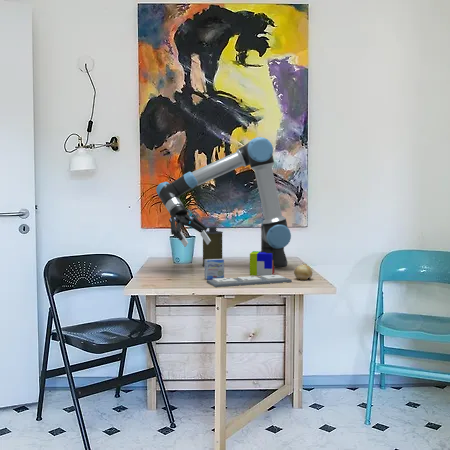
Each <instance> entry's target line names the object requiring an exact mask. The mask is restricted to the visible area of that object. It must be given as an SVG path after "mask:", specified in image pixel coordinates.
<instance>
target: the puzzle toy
mask: <svg viewBox="0 0 450 450" xmlns="http://www.w3.org/2000/svg"><path fill="white" fill-rule="evenodd" d="M274 273H275V267H274V252H264V251H261V250H259V251H257V250H256V251H255V250H253V251H252V252H249V276H255V277H261V276H265V275H274Z"/></svg>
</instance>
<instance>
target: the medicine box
mask: <svg viewBox="0 0 450 450" xmlns="http://www.w3.org/2000/svg"><path fill="white" fill-rule="evenodd" d="M203 267H204V279H205V280H206V281H207V280H213V279H215V278H225V260H224V259H223V258H222V259H205V260H204V266H203Z"/></svg>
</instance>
